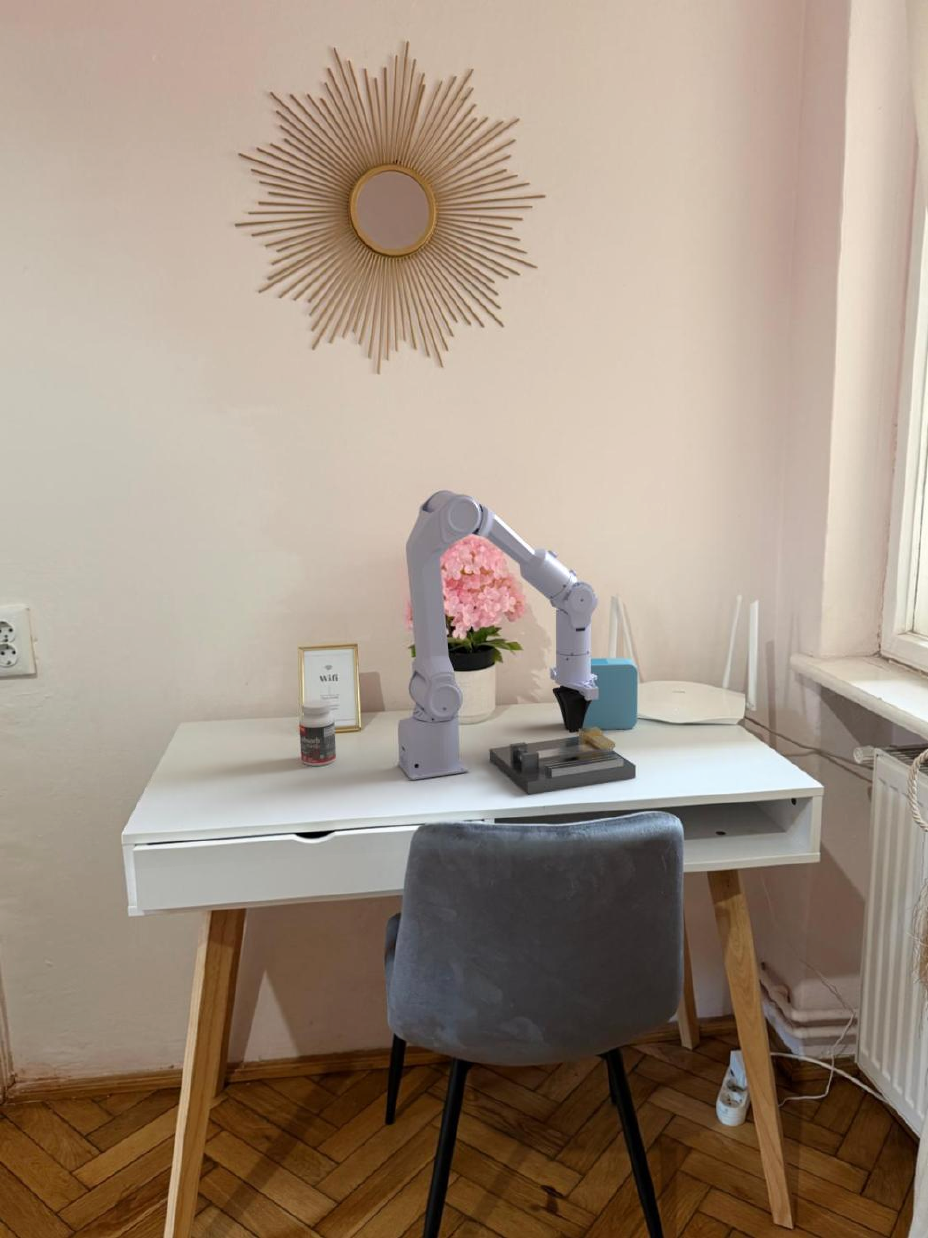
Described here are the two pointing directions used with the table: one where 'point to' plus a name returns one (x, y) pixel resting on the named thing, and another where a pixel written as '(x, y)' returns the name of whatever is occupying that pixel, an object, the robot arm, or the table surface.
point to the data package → (613, 694)
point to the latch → (594, 738)
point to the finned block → (559, 766)
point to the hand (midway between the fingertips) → (573, 730)
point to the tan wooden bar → (567, 752)
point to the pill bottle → (317, 733)
